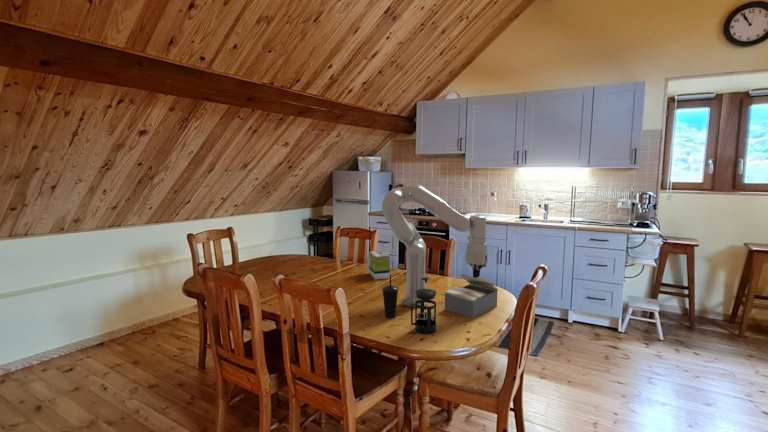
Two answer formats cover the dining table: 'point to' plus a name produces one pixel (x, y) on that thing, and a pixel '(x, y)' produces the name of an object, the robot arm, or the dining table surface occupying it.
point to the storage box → (472, 302)
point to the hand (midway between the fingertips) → (476, 276)
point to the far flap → (479, 282)
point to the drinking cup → (390, 300)
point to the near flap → (465, 293)
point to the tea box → (379, 264)
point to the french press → (425, 318)
